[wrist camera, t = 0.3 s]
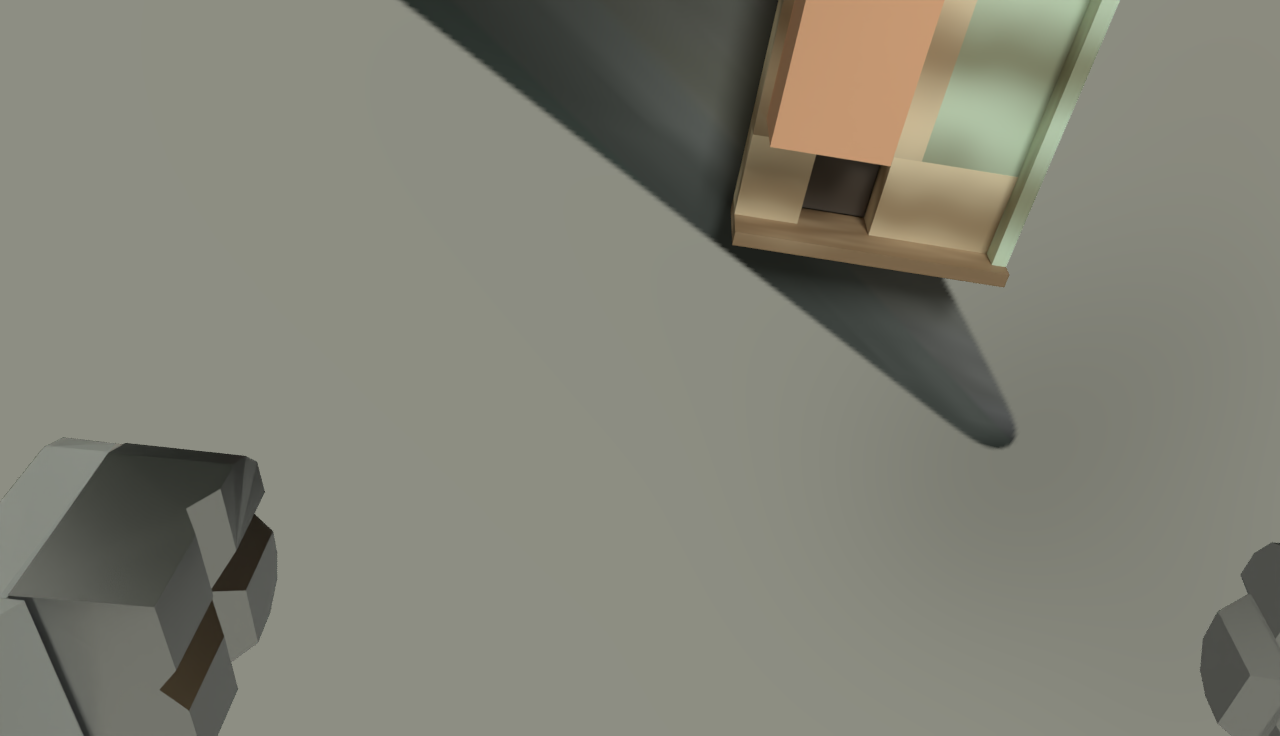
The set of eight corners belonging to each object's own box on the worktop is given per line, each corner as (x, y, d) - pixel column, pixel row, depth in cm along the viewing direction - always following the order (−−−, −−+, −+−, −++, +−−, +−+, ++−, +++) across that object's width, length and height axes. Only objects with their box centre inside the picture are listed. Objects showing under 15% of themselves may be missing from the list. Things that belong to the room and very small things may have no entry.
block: (820, -112, 46) (828, -93, 43) (950, -89, 46) (967, -69, 43) (766, 117, 52) (770, 146, 50) (880, 136, 53) (890, 166, 50)
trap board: (843, -287, 44) (855, -278, 40) (1182, -225, 44) (1219, -211, 41) (730, 209, 58) (732, 244, 55) (987, 250, 59) (1004, 287, 55)
